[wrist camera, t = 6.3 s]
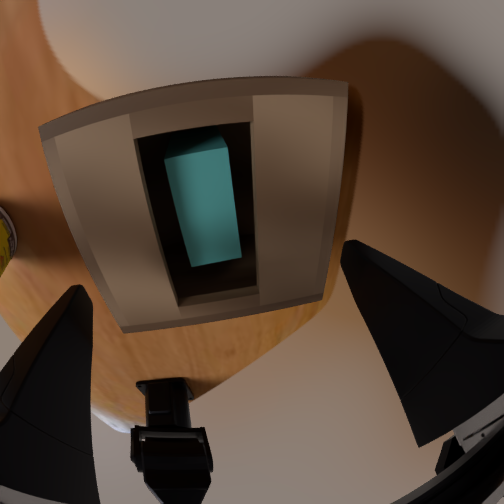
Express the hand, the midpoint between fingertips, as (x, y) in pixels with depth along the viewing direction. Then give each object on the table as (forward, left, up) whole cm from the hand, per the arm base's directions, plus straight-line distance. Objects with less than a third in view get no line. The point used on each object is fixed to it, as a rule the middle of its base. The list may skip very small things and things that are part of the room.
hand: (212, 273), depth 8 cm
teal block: (0, 0, -9) cm, 9 cm away
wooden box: (0, 0, -10) cm, 10 cm away
